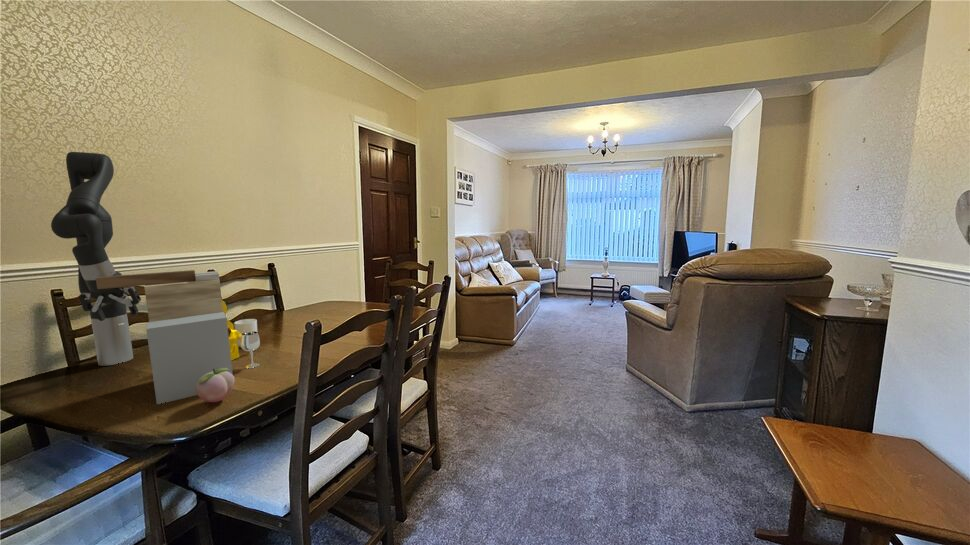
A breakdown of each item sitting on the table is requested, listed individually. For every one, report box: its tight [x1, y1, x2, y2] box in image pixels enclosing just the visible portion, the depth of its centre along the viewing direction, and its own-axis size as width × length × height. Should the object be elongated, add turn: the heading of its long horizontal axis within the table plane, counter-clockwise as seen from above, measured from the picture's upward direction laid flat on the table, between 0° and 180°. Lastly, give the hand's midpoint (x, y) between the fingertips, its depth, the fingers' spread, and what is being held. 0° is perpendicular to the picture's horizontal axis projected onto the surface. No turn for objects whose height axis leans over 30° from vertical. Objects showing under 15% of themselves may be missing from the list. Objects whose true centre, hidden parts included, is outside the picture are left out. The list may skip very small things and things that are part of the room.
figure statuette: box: [222, 300, 242, 362], centre depth 136 cm, size 18×8×22 cm, turn 149°
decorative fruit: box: [195, 368, 236, 403], centre depth 104 cm, size 9×8×10 cm
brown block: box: [96, 269, 220, 289], centre depth 114 cm, size 8×28×3 cm, turn 130°
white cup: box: [233, 318, 258, 348], centre depth 152 cm, size 8×8×10 cm
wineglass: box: [240, 331, 261, 369], centre depth 129 cm, size 6×6×12 cm
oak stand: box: [144, 279, 223, 322], centre depth 119 cm, size 10×18×32 cm, turn 130°
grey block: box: [145, 312, 234, 405], centre depth 111 cm, size 9×18×22 cm, turn 130°
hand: (119, 317), depth 127 cm, fingers open, 8 cm apart
